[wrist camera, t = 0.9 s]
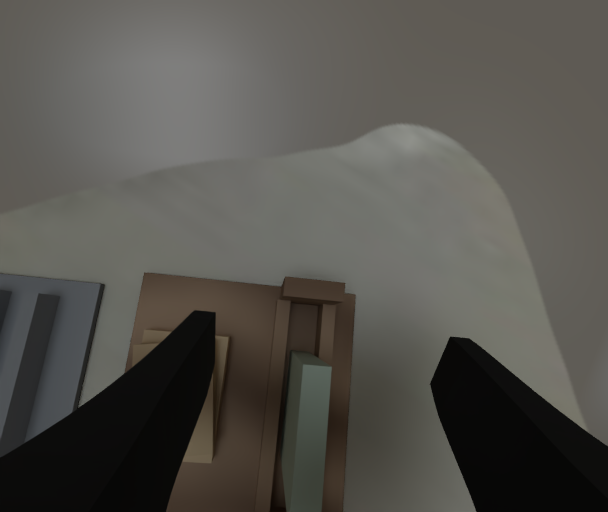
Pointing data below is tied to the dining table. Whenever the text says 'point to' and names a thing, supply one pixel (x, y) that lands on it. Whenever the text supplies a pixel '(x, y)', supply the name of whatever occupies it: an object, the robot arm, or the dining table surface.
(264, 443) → the rack
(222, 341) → the offcut lower
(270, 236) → the dining table surface
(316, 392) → the sheet
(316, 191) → the dining table surface
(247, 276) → the dining table surface
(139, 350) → the offcut upper
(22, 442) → the stand
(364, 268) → the dining table surface
